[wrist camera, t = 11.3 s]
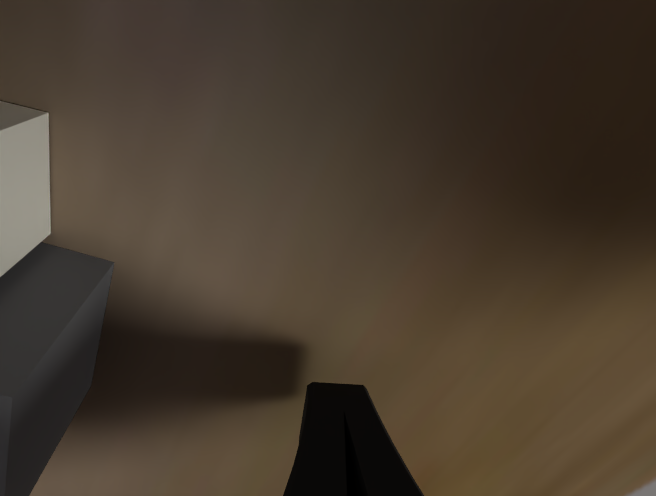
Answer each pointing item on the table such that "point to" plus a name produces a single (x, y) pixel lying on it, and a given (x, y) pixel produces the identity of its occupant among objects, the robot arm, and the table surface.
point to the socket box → (23, 182)
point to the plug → (45, 354)
